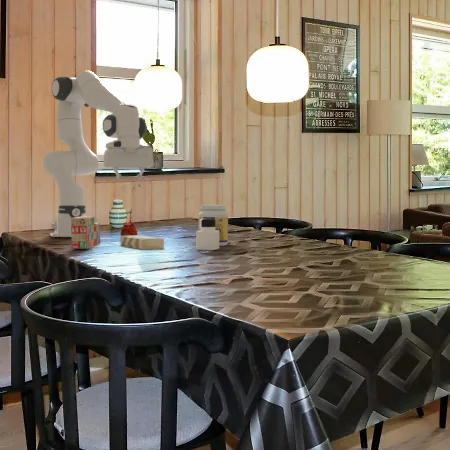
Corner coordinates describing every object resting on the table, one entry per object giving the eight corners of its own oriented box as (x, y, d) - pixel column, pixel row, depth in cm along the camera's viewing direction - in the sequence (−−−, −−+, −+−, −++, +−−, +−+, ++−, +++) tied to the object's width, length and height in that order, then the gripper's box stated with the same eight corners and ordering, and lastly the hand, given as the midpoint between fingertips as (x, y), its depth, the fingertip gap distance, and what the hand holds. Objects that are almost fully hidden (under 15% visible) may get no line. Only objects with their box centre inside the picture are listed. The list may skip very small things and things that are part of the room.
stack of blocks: (85, 244, 276) (85, 215, 275) (100, 244, 275) (100, 215, 275) (71, 249, 254) (70, 217, 254) (87, 249, 254) (86, 217, 253)
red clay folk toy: (117, 243, 282) (117, 208, 282) (125, 242, 289) (125, 208, 288) (132, 243, 280) (132, 208, 279) (141, 242, 286) (140, 208, 285)
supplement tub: (201, 247, 261) (201, 205, 261) (196, 245, 273) (196, 204, 273) (230, 246, 264) (230, 205, 263) (224, 244, 276) (224, 204, 275)
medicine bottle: (219, 249, 254) (219, 218, 253) (213, 250, 247) (213, 218, 246) (202, 248, 256) (202, 217, 255) (195, 249, 249) (195, 218, 249)
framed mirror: (120, 245, 270) (120, 235, 270) (140, 244, 275) (140, 235, 274) (142, 249, 250) (142, 239, 250) (163, 248, 255) (163, 238, 255)
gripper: (149, 145, 269) (150, 179, 269) (101, 144, 259) (102, 179, 259) (155, 144, 263) (156, 178, 263) (107, 142, 253) (107, 178, 253)
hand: (129, 178), depth 261 cm, fingers open, 7 cm apart
